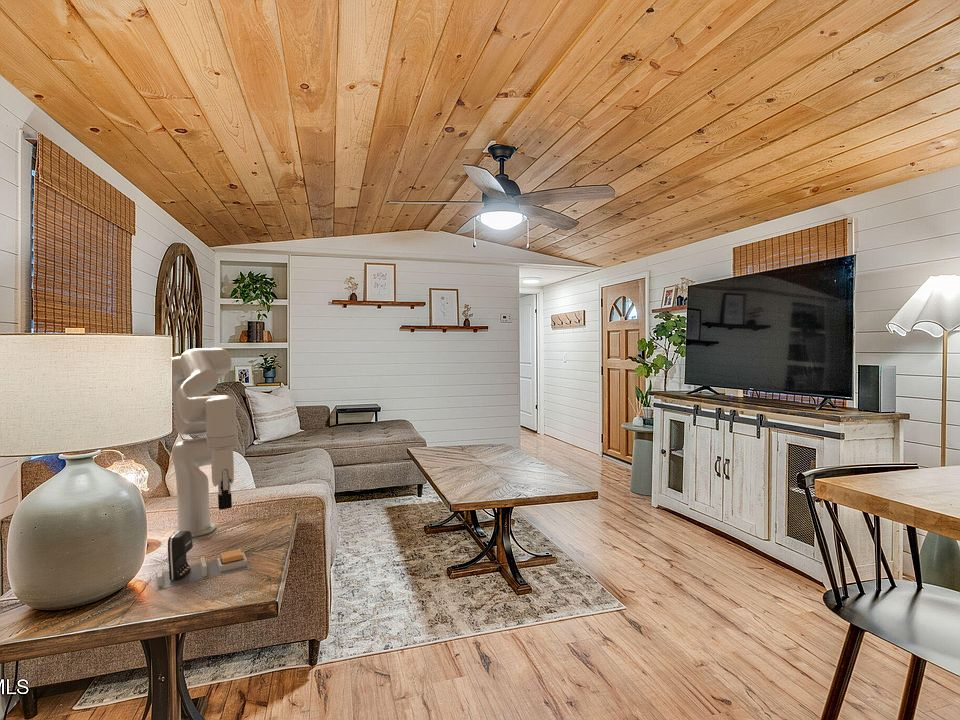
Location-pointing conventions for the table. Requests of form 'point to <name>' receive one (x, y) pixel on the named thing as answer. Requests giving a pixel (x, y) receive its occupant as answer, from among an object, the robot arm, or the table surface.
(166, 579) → the charging dock
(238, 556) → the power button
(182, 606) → the table surface
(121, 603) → the table surface
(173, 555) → the battery charger
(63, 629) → the table surface
